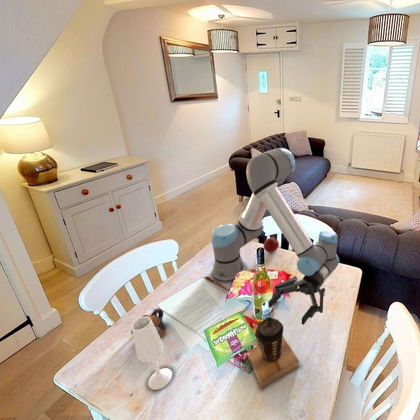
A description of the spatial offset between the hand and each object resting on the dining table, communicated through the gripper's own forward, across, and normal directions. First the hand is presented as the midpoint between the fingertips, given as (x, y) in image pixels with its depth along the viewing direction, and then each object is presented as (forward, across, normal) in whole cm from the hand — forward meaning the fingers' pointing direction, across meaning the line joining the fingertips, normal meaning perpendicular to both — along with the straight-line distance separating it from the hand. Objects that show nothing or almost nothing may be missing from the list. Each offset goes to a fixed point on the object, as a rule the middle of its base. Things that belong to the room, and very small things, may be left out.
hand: (285, 313), depth 90 cm
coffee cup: (+8, 0, -11) cm, 14 cm away
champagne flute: (+31, +26, -14) cm, 43 cm away
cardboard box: (+8, 0, -14) cm, 16 cm away
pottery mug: (+22, +45, -14) cm, 52 cm away
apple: (-43, +39, -14) cm, 60 cm away
